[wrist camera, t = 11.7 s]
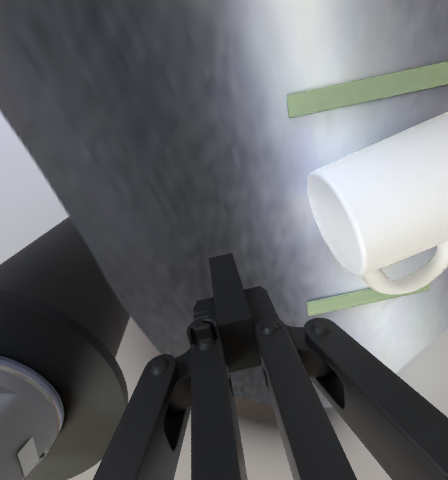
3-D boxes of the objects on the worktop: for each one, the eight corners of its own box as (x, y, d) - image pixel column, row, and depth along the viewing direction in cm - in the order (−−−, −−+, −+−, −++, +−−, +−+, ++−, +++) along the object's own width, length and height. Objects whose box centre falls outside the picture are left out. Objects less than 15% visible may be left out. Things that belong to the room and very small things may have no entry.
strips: (307, 314, 28) (308, 316, 27) (286, 95, 20) (287, 95, 20) (427, 288, 28) (429, 290, 27) (450, 60, 20) (453, 60, 20)
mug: (296, 164, 22) (344, 183, 15) (419, 109, 21) (536, 100, 14) (334, 284, 27) (386, 345, 19) (437, 242, 26) (533, 289, 18)
